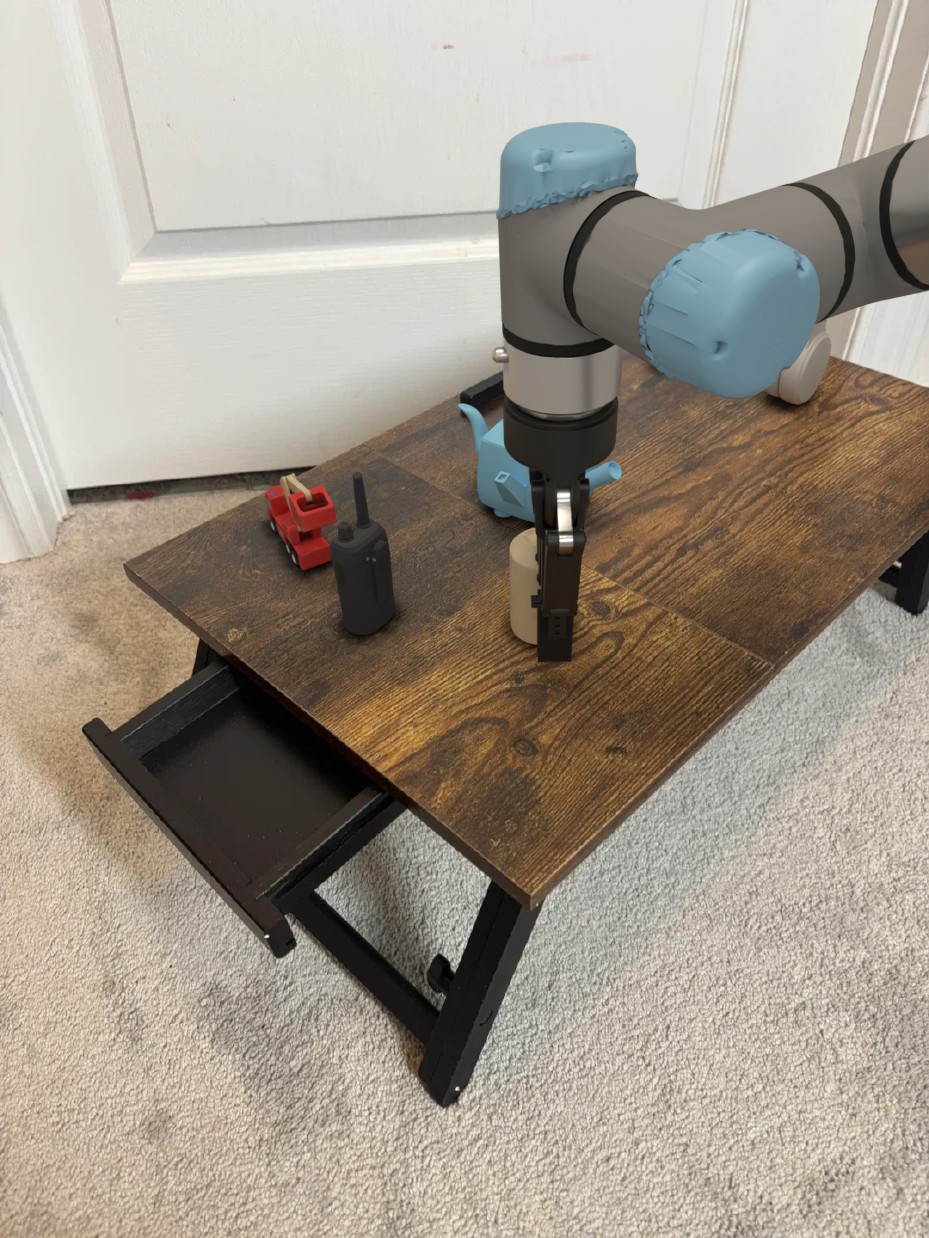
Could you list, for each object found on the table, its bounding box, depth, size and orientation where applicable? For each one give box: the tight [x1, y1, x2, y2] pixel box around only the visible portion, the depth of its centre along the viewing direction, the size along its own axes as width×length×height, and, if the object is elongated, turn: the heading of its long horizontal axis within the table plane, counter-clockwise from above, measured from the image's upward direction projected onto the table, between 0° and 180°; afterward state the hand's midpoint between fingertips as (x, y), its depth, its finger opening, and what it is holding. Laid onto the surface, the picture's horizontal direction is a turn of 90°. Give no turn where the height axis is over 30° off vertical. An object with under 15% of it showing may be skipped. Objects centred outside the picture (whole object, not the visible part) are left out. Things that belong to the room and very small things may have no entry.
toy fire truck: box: [264, 473, 337, 571], centre depth 88 cm, size 3×14×10 cm, turn 28°
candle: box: [509, 527, 541, 646], centre depth 79 cm, size 6×6×10 cm
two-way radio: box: [330, 471, 396, 636], centre depth 78 cm, size 6×4×15 cm
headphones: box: [764, 319, 832, 406], centre depth 107 cm, size 20×8×19 cm, turn 50°
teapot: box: [457, 403, 623, 523], centre depth 92 cm, size 18×14×10 cm
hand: (554, 655), depth 76 cm, fingers closed
